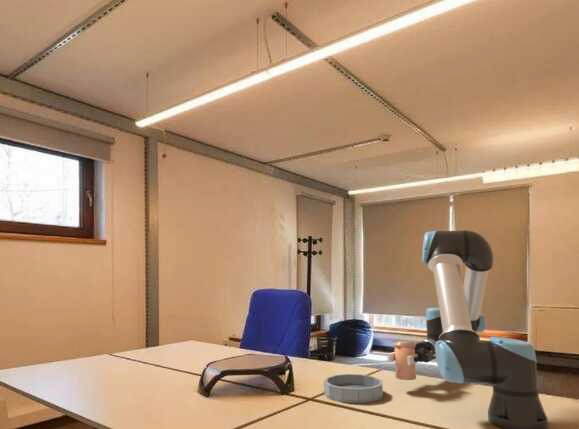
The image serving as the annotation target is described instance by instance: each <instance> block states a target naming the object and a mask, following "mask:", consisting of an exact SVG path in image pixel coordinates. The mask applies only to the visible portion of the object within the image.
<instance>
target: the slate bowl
mask: <svg viewBox="0 0 579 429" xmlns="http://www.w3.org/2000/svg"><path fill="white" fill-rule="evenodd" d="M383 383H384V382H383V379H382V380H381V379H380V378H378V377H376V376H372V375H371V376H370V375H367V374H360V373H359V374H356V373H345V374H344V373H343V374H333V375H331V376H327V377H325V379H324V380H323V393H324V395H325V397H326V398H327V399H329V400H331V401H334V402H339V403H346V404H368V403H369V404H370V403H374V402H378V401H380V400H381V399H382V398H383V397H384V396H383V395H384V393H383V392H384V389H383V388H384V387H383V386H384V384H383Z"/></svg>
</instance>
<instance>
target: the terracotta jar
mask: <svg viewBox="0 0 579 429" xmlns="http://www.w3.org/2000/svg"><path fill="white" fill-rule="evenodd" d="M393 347H394V350H395V360H394V366H395V378H396V379H398V380H401V381H414V380H417V368H416V363H414V364H411V365H408V362H407V356H411V355H414V354H415V347H416V343H415V342H414V341H411V340H410V341H409V340H397V341H394V342H393Z"/></svg>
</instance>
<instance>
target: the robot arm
mask: <svg viewBox="0 0 579 429" xmlns="http://www.w3.org/2000/svg"><path fill="white" fill-rule="evenodd" d="M421 258H422V259H421V261H422V263H423V264H426V265H427V267H428V269H429V270H430V272H432V273H433V276H434V277H433V278H434V284H435V289H436V295H437V302H438V303H437V304H438V307H428V308H427V309H426V310H425V313H426V314H425V315H426V317H425V321H426V322H425V323H426V339H425V340H422V341H418V342H417V343H415V345H416V347H415V354H414V355H411V356H407V362H408V365H411V364H414V363H415V364H417V363H429V362H432V360H436V364H437V368H438V370H439V374H440V376H441V377H442V379H443V380H444V381H446V382H448V383H455V384H456V383H457V384H460V385H462V384H479V385H480V384H481V385H482V384H483V385H492V395H491V398H490V401H489V402H490V403H489V406H488V409H487V419H488V421H489V423H491V424H492V425H494V426H496V427H499V428H501V429H549V420H548V416H547V414H546V412H545V409H544V407H543V404H542V402H541V399H540V395H539V381H538V371H537V370H538V369H537V368H538V367H537V366H538V365H537V362H538V359H537V356H536V355H537V354H536V350H535V349H536V348H535V347H534V346H533V345H532V344H531V343H530V342H527V341H525V340H520V339H515V338H509V337H504V336H490V337H489V339H488V341H481V339H480V335H479V333H482V332H484V331H485V328H486V320H485V317H484V314H482V306H483V301H484V298H485V297H484V296H485V291H486V287H487V286H486V284H487V279H488V274H489V271H491V270H492V268H493V264H494V253H493V249H492V247H491V245H490V243H489V242H488V240H487V239H486V238H485V237H484V236H483V235H481V234H480V233H478V232H476V231H473V230H468V229H467V230H466V229H465V230H432V231H427V232H425V233H424V236H423V242H422V257H421ZM463 265H464V266H465V274H464V281H463V279H462V274H461V268H462V267H463ZM386 355H387V362H388V363H391V362H395V349H391V350H390V352H389V353H387V354H386Z"/></svg>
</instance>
